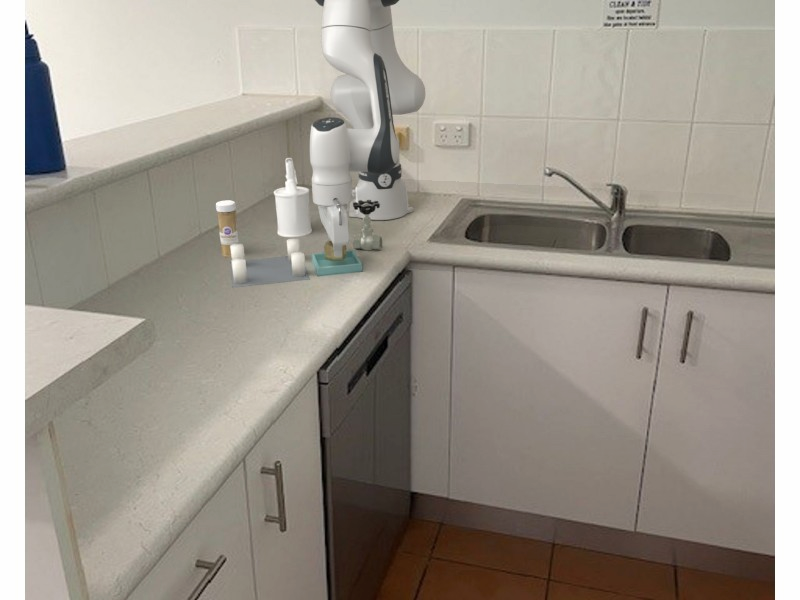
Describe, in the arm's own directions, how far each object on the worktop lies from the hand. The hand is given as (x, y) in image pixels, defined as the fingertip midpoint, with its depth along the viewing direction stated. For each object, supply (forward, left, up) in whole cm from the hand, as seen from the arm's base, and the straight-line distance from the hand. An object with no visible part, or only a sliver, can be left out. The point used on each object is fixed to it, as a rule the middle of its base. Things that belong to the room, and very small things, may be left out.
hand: (335, 252), depth 166 cm
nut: (0, 0, -1) cm, 1 cm away
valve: (-10, +10, -4) cm, 14 cm away
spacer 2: (+3, -22, -4) cm, 23 cm away
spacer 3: (-7, -9, -4) cm, 12 cm away
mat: (-2, -15, -4) cm, 16 cm away
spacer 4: (+3, -9, -4) cm, 10 cm away
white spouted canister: (-29, -6, -4) cm, 30 cm away
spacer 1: (-7, -22, -4) cm, 23 cm away
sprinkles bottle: (-16, -23, -4) cm, 29 cm away
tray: (0, 0, -4) cm, 4 cm away
